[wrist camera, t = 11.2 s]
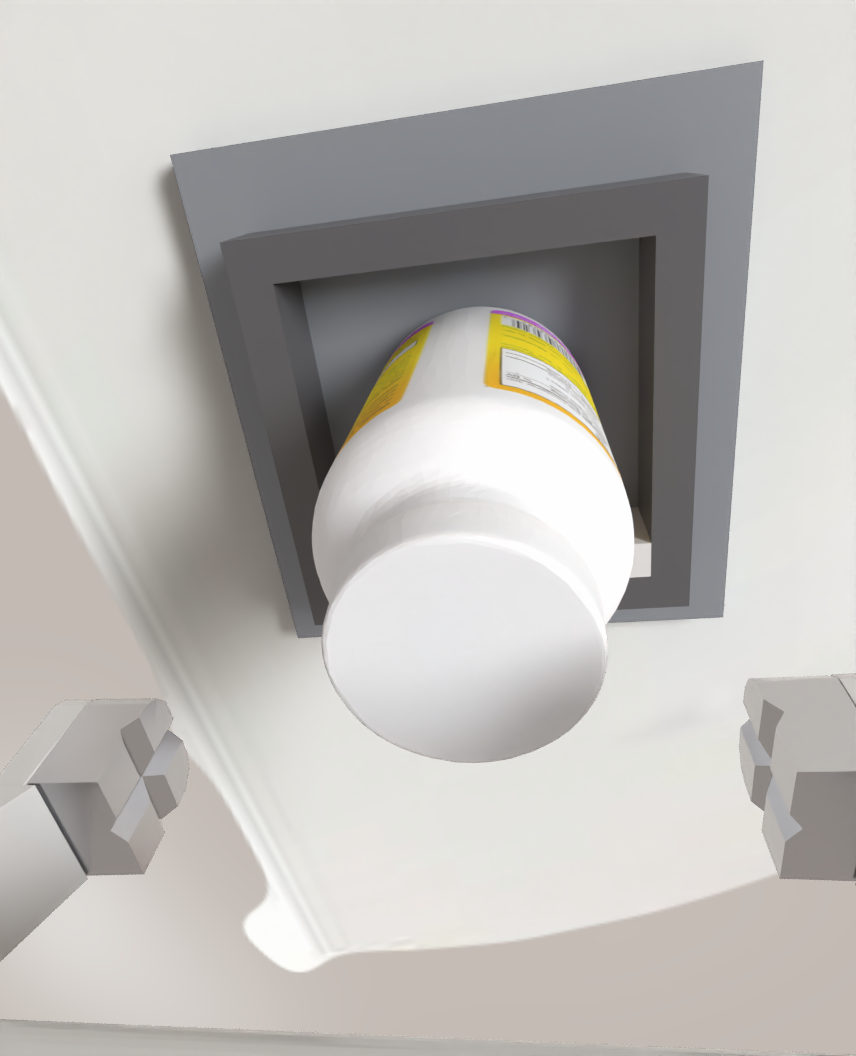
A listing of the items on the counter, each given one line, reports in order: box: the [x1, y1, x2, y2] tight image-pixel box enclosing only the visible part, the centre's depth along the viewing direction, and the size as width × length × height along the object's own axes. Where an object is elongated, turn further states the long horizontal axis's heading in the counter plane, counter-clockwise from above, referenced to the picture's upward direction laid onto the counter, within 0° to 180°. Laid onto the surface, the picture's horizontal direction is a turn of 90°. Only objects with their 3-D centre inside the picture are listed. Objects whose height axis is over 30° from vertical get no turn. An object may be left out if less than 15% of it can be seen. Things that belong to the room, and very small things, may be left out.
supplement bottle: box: [312, 306, 634, 763], centre depth 17 cm, size 7×7×13 cm
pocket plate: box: [170, 61, 763, 638], centre depth 22 cm, size 17×16×4 cm
